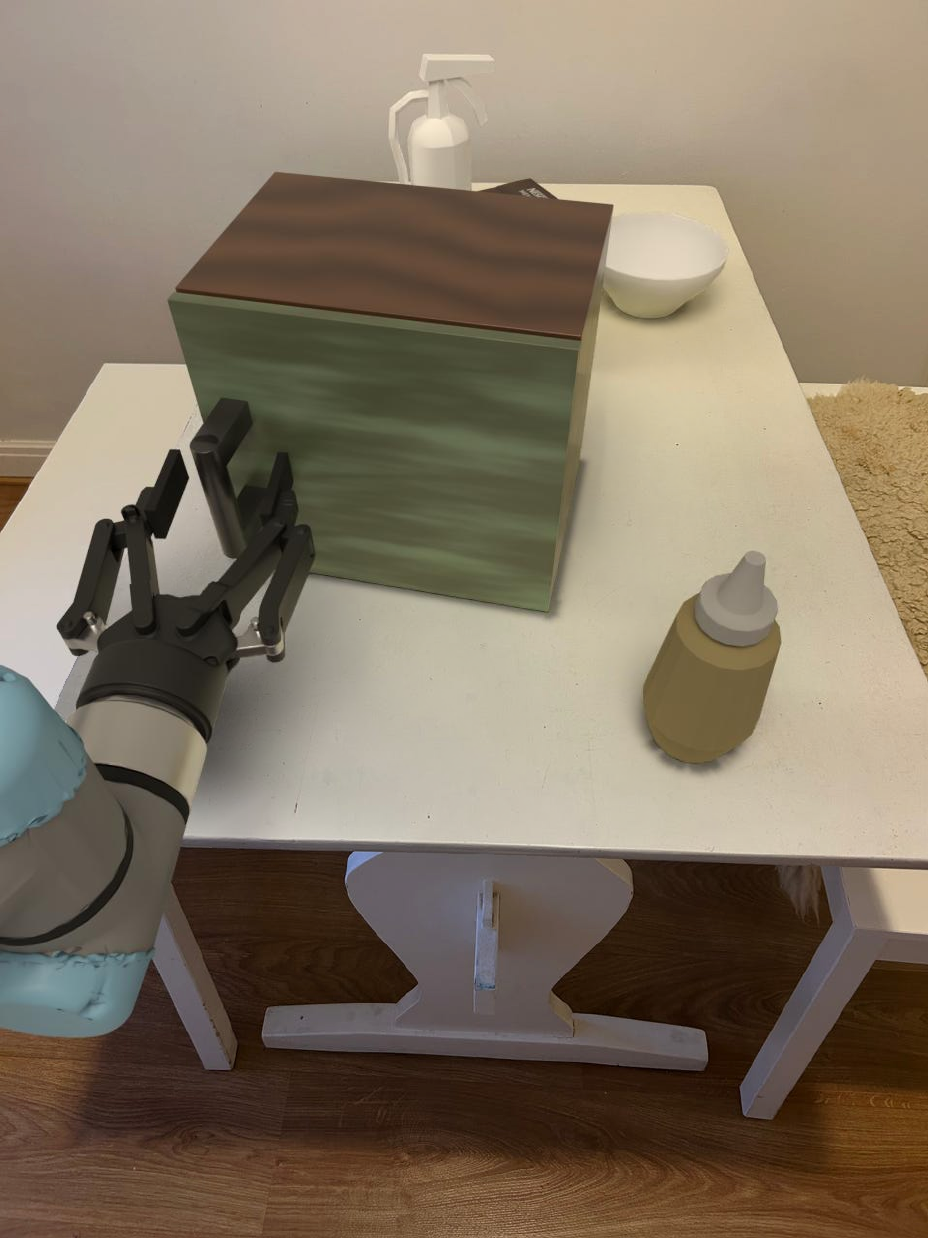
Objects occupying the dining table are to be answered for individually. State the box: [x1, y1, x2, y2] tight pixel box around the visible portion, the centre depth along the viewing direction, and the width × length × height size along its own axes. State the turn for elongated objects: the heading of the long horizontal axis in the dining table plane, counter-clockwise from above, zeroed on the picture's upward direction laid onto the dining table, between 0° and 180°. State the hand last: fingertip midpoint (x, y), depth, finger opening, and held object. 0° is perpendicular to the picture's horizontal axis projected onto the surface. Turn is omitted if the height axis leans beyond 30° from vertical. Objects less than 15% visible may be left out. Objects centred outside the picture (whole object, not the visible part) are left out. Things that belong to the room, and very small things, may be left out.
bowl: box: [603, 211, 730, 320], centre depth 96 cm, size 16×16×7 cm
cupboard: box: [174, 171, 614, 602], centre depth 67 cm, size 18×26×24 cm
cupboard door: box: [166, 291, 581, 613], centre depth 59 cm, size 7×26×24 cm, turn 77°
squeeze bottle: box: [642, 550, 783, 764], centre depth 54 cm, size 8×8×18 cm
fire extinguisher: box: [387, 53, 496, 191], centre depth 90 cm, size 7×12×25 cm, turn 104°
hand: (232, 465), depth 62 cm, fingers open, 7 cm apart
